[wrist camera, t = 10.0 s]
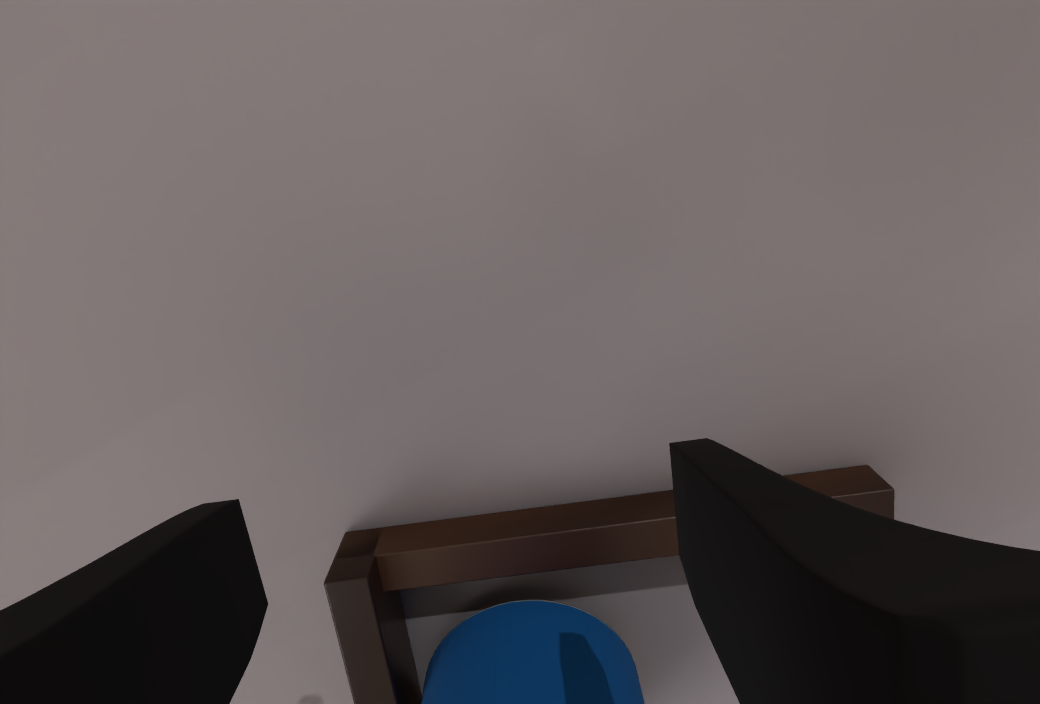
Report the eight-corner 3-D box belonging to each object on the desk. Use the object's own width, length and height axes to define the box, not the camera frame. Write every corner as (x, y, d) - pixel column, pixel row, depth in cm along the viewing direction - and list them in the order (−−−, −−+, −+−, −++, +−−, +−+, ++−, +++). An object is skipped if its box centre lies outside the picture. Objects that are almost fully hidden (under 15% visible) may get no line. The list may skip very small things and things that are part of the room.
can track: (868, 464, 20) (915, 507, 18) (867, 774, 23) (907, 846, 21) (344, 531, 21) (322, 583, 18) (415, 826, 24) (404, 903, 22)
